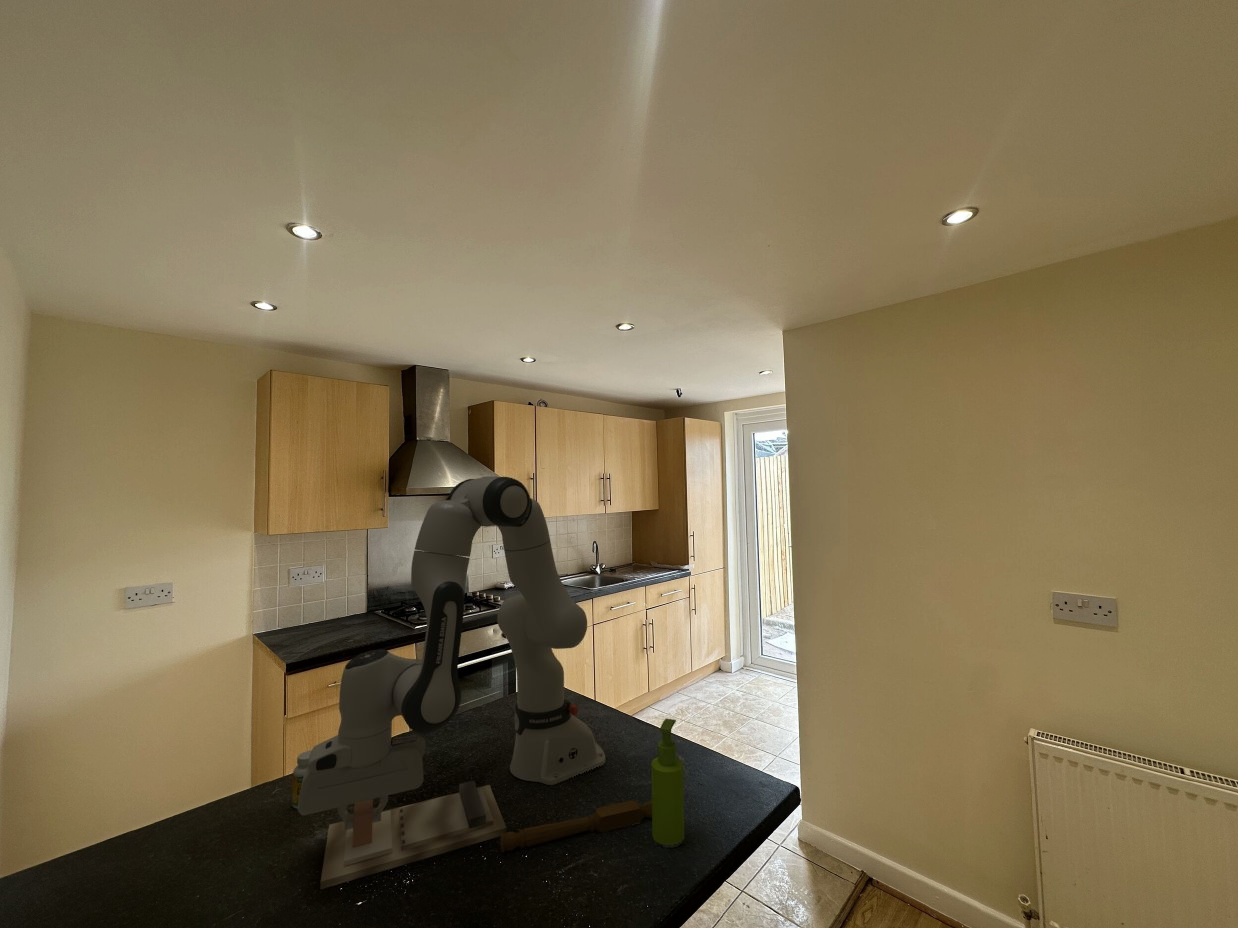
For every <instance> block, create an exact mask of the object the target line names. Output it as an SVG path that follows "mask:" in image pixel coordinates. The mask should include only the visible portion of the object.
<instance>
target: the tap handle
mask: <svg viewBox="0 0 1238 928" xmlns="http://www.w3.org/2000/svg"><path fill="white" fill-rule="evenodd" d="M644 817H645V818H647V817H649V818H648V819H652V818H651V817H652V800H647V801H646V802H644V803H643V805H642V804H641V803H639V802H638V801H636V800H634V799H631V800H627V801H623V802H617V803H613V804H608V805H604V806H599V807H597V808H596V809H595V812H594V813H593V814H592V813H591V814H588V815H587V816H586V817H579V818H575V819H569V820H564V821H557V822H551V823H547V824H540V825H536V826H530V827H525V828H524V829H522V828H520V829H519V831H518V832H514V831H508V832H507V831H506V834H504V833H502V834H501V835H500V836H499V845H500V847H499V849H500V852H501V853H505V852H513V850H515V849H516V848H517V847H520V848H521V849H523V848H525V847H527V848H530V847H532V846H537V845H540V844H543V843H548V842H550V841H551V842H552V841H554V840H558V839H562V838H566V837H569V836H572V835H576V834H580V833H583V832H585V831H589V832H590V831H591V832H594V830H595V831H598V833H600V832H603V833H605V832H604V831H607V830H611V829H615V828H619V827H623V826H628V825H632V824H635V823H639V822H642V819H644ZM607 832H608V831H607Z"/></svg>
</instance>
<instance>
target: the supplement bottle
mask: <svg viewBox="0 0 1238 928" xmlns="http://www.w3.org/2000/svg"><path fill="white" fill-rule="evenodd" d="M311 751H312V749H310V750H306V751H304V752H301V753H300V754H298V756H297V759H296V763H297V765H296V766H295V768H293V771H292V794H291V797H292V799H291V800H292V801H291V806H292V807H293V808H294V809H296V810H298V801H299V795H300V790H301V785H302V781H303V778H304V774H305V771H306V769H307V767H308V760H309V756H310V753H311Z"/></svg>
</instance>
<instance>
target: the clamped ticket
mask: <svg viewBox="0 0 1238 928" xmlns="http://www.w3.org/2000/svg"><path fill="white" fill-rule="evenodd" d="M475 782H476V781H475V780H472V781H467V782H464V783H463V782H462V783H459V785H458V786H459V787H458V792H456V793H451V794H447V795H442V796H439V797H436V798H432V799H427V800H424V801H420V802H416V803H412V804H408V805H403V806H399V807H395V808H391V809H387V810H383V811H382V812H385V811H389V810H391V833H392V853H389V854H385V855H382V856H378V857H375V858H371V859H368V860H364V861H361V862H357V863H354V864H350V865H347V866H343V865H344V852H345V842H346V832H347V830H344V823H345V821H343V820H342V821H339V822H335V823H331V824H329V825H328V831H327V837H326V844H325V849H324V850H325V851H324V856H323V865H322V870H321V877H320V888H319V889H320V890H324V889H327V888H330V887H331V888H332V887H334V886H337V885H341V884H343V883H344V884H345V883H347V882H351V881H354V880H357V879H360V878H364V877H368V876H371V875H374V874H378V873H381V872H384V871H387V870H391V869H394V868H399V867H401V866H404V865H408V864H411V863H414V862H418V861H421V860H424V859H428V858H431V857H434V856H439V855H442V854H445V853H448V852H451V851H452V852H453V851H455V850H458V849H462V848H464V847H469V846H472V845H474V844H475V845H476V844H479V843H481V842H484V841H485V842H486V841H489V840H492V839H496V838H500V835H501V834H502V833H504V834H506V833H507V826H506V823H505V821H504V818H503V815H502V814H501V811H500V809H499V805H498V803H497V801H496V799H495V795H494V793H493V791H492V788H491V785H490V784H487V785H483V786H480V787H479V786H478V787H477V785H476V783H475Z"/></svg>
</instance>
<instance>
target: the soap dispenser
mask: <svg viewBox="0 0 1238 928" xmlns="http://www.w3.org/2000/svg"><path fill="white" fill-rule="evenodd" d="M676 721H677V720H676V719H674V718H673V719H672V718H665V719H664V720H663V721H662V724H661V726H660V728H659V732H660V733H661V739H662V740H659V741H658V742H657V757H655V758H653V760H652V761H651V763H650V765H651V766H650V767H651V769H650V770H651V801H652V818H651V819H652V821H651V823H652V824H651V827H652V829H651V830H652V831H651V832H652V833H651V835H652V836H653V838H654V840H655V841H656V842H658V843H660V844H663V845H674V844H678V843H679V842H681V841H682V840H683V839H684V840H685V803H684V802H685V800H684V799H685V798H684V791H685V790H684V764H683V761H682V760H681V759H679V758H678V757H677V745H676V742H675V741H673V740H672V729H673V727H674V725H675V724H676ZM653 838H652V839H653Z"/></svg>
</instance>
